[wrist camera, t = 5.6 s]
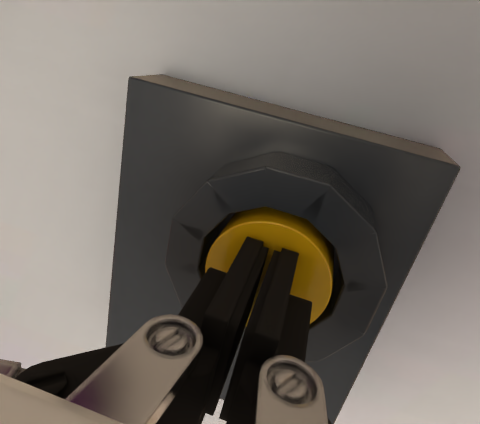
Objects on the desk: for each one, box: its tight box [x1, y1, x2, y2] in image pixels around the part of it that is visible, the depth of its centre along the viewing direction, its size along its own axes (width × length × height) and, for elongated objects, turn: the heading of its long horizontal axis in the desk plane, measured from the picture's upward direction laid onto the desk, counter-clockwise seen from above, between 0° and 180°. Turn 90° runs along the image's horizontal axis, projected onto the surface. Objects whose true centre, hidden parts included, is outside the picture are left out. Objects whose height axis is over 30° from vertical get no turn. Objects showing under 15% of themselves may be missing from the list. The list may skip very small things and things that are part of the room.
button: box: [205, 207, 334, 326], centre depth 12 cm, size 4×4×2 cm
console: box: [106, 74, 460, 424], centre depth 15 cm, size 13×11×4 cm
